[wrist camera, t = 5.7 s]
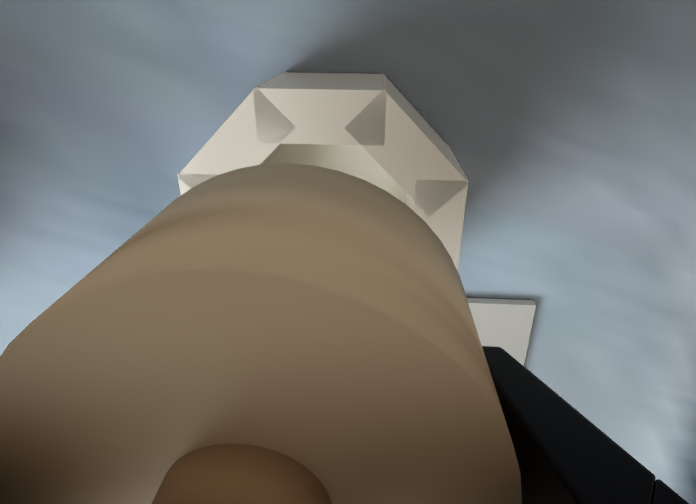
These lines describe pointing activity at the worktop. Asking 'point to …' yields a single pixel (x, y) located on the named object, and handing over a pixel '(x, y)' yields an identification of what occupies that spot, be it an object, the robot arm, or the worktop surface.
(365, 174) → the bowl
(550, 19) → the worktop surface
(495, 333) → the mat
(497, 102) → the worktop surface
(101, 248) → the worktop surface
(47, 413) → the lid
